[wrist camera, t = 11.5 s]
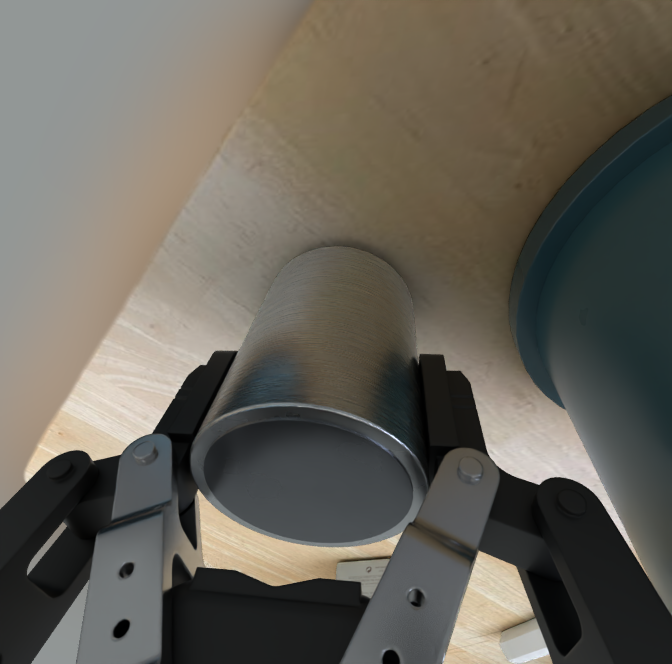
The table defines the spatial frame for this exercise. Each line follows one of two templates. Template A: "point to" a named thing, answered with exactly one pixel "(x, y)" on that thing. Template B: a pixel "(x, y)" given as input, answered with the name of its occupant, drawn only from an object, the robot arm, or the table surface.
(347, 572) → the small box
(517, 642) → the white pencil
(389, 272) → the cup
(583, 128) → the table surface
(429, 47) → the table surface
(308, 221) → the table surface
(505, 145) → the table surface
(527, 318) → the blue flanged cylinder
